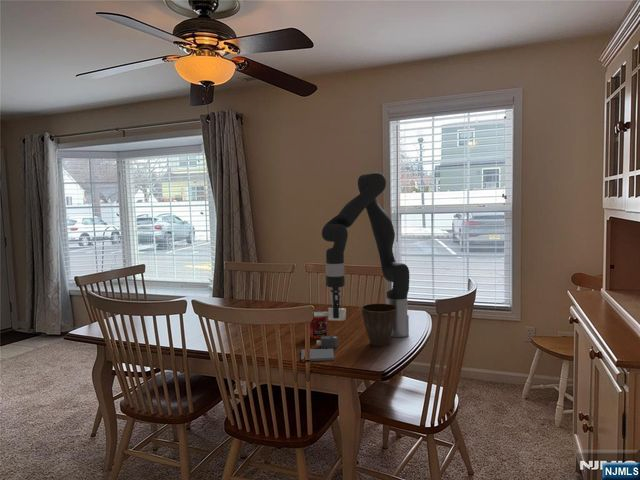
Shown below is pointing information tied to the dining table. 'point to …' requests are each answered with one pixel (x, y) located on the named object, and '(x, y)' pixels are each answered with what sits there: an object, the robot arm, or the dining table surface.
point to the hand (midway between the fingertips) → (335, 316)
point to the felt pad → (319, 354)
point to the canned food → (318, 326)
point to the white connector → (341, 314)
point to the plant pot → (379, 322)
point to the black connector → (328, 342)
